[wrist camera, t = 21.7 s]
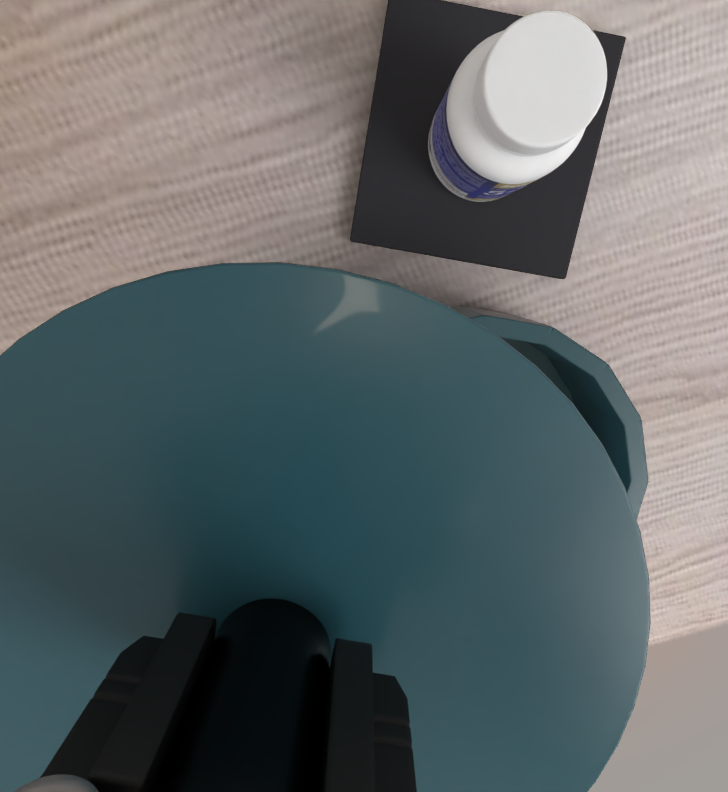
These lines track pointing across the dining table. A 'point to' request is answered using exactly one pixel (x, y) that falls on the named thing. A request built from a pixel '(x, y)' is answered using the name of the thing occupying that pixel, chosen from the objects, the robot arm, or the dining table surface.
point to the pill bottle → (517, 106)
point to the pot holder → (412, 170)
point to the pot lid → (312, 530)
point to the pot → (580, 390)
